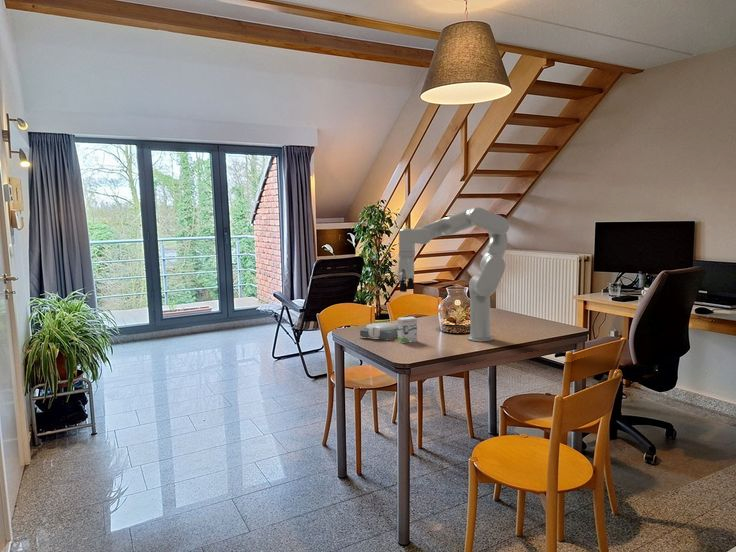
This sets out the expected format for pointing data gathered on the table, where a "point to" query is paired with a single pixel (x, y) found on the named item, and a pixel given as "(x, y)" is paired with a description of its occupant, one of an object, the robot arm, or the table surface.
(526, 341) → the table surface
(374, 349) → the table surface
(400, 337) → the ink box
